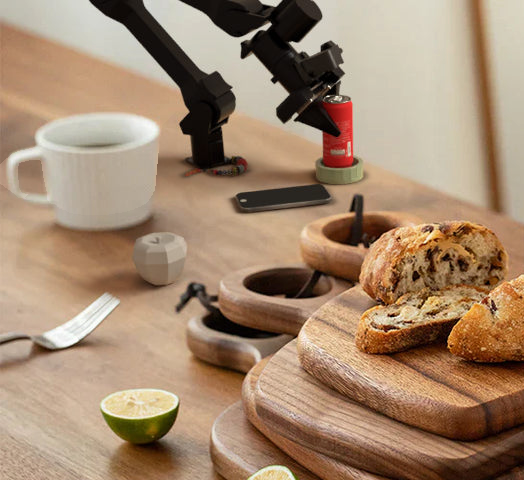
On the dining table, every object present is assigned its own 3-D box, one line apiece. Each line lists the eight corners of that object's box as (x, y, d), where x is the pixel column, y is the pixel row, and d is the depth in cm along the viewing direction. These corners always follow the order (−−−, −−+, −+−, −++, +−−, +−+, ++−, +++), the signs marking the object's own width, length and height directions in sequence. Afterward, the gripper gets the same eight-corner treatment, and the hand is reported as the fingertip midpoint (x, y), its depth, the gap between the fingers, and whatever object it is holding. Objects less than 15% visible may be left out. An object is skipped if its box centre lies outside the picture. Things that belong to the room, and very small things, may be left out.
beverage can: (319, 170, 184) (317, 101, 179) (328, 161, 189) (327, 93, 183) (348, 173, 183) (347, 104, 177) (356, 163, 187) (356, 95, 182)
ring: (306, 175, 187) (306, 160, 186) (344, 165, 192) (344, 151, 190) (334, 187, 181) (333, 173, 180) (372, 177, 186) (372, 162, 184)
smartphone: (234, 192, 178) (322, 182, 181) (234, 197, 178) (322, 187, 181) (241, 209, 171) (333, 198, 174) (241, 213, 172) (333, 202, 175)
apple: (175, 296, 145) (170, 251, 142) (123, 288, 148) (117, 244, 145) (201, 272, 152) (197, 229, 149) (151, 265, 154) (146, 222, 151)
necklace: (249, 176, 187) (247, 165, 186) (185, 185, 186) (183, 174, 186) (247, 162, 194) (245, 151, 194) (186, 171, 194) (184, 160, 193)
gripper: (291, 41, 168) (358, 116, 170) (333, 17, 184) (394, 86, 186) (247, 86, 174) (313, 159, 176) (292, 59, 190) (351, 126, 192)
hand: (344, 131), depth 182 cm, fingers closed on beverage can, 5 cm apart
